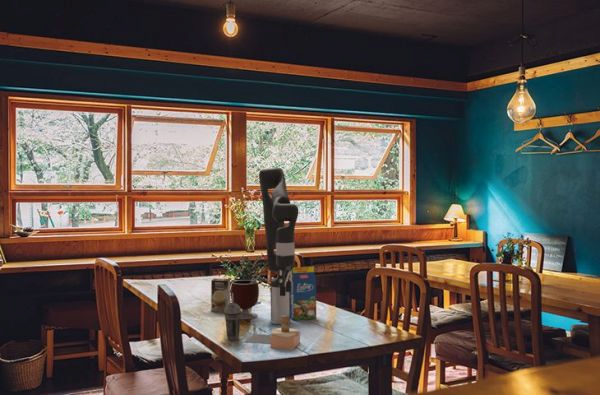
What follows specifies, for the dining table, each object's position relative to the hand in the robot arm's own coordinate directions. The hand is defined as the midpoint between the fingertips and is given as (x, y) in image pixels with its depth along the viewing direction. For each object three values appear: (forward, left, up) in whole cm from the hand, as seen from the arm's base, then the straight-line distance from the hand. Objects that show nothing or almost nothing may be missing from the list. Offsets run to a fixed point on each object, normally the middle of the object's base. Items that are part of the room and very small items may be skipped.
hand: (285, 293), depth 239 cm
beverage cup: (-4, -24, -21) cm, 33 cm away
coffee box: (-59, -52, -21) cm, 82 cm away
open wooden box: (0, 0, -21) cm, 21 cm away
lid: (0, 0, -16) cm, 16 cm away
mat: (-7, -11, -21) cm, 25 cm away
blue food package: (-51, -6, -22) cm, 56 cm away
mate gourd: (-48, -34, -21) cm, 63 cm away
